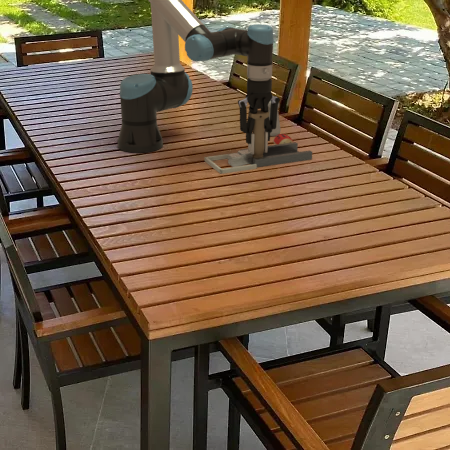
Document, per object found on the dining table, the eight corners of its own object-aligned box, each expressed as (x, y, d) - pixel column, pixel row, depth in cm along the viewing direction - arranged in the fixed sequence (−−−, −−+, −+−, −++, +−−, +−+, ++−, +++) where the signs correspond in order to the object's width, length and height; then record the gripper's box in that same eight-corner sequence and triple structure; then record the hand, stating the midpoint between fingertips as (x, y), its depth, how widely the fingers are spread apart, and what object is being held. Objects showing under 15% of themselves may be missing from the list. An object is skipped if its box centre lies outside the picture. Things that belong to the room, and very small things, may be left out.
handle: (269, 160, 225) (271, 113, 218) (249, 161, 223) (250, 114, 217) (265, 155, 229) (266, 109, 223) (245, 156, 228) (246, 110, 221)
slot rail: (255, 170, 221) (255, 159, 219) (240, 160, 230) (240, 149, 229) (311, 162, 228) (312, 151, 227) (295, 152, 237) (295, 142, 236)
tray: (220, 176, 215) (220, 170, 215) (204, 163, 226) (204, 157, 225) (256, 171, 220) (256, 164, 219) (238, 159, 231) (238, 152, 230)
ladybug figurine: (279, 151, 239) (279, 141, 238) (268, 142, 248) (269, 132, 246) (298, 149, 241) (298, 139, 240) (286, 141, 250) (287, 131, 248)
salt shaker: (275, 140, 249) (276, 103, 244) (261, 137, 252) (262, 101, 247) (283, 136, 254) (284, 100, 249) (268, 133, 257) (270, 97, 252)
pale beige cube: (242, 164, 223) (242, 154, 221) (237, 161, 225) (237, 151, 224) (252, 163, 224) (252, 152, 222) (247, 160, 227) (247, 149, 225)
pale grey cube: (232, 168, 221) (232, 157, 219) (228, 165, 224) (228, 154, 222) (243, 166, 222) (243, 156, 221) (238, 163, 225) (238, 152, 224)
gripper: (239, 83, 209) (238, 159, 219) (290, 78, 216) (287, 152, 225) (228, 78, 216) (228, 152, 225) (278, 73, 222) (276, 145, 232)
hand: (257, 152), depth 225 cm, fingers closed on handle, 4 cm apart
